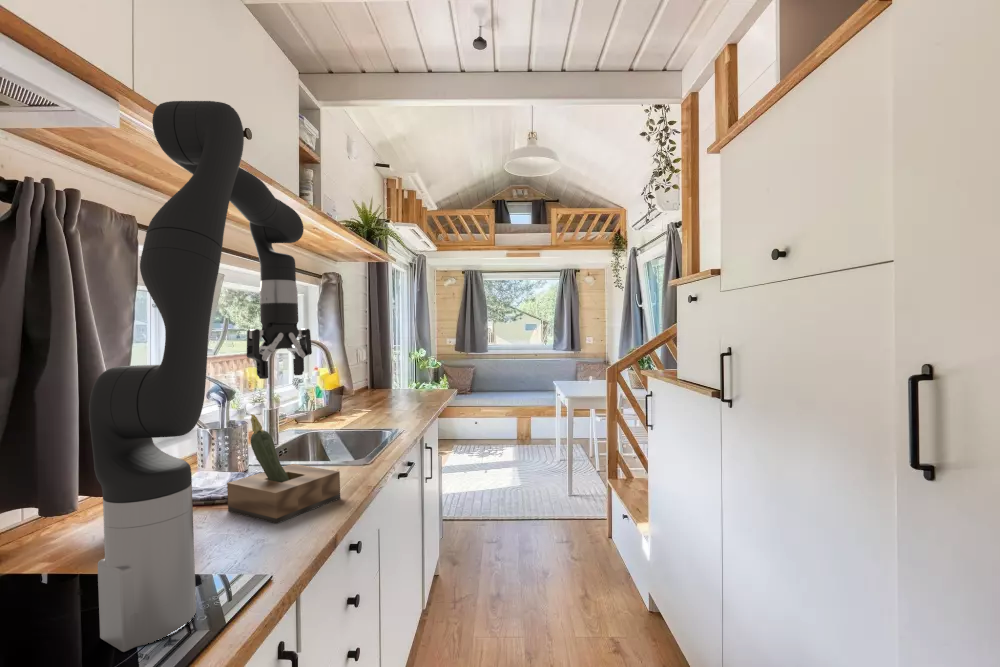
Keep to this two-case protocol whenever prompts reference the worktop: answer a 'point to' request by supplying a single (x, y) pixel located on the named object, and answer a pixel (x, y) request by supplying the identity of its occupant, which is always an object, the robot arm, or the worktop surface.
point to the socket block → (283, 493)
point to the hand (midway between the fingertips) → (281, 376)
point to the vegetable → (266, 452)
